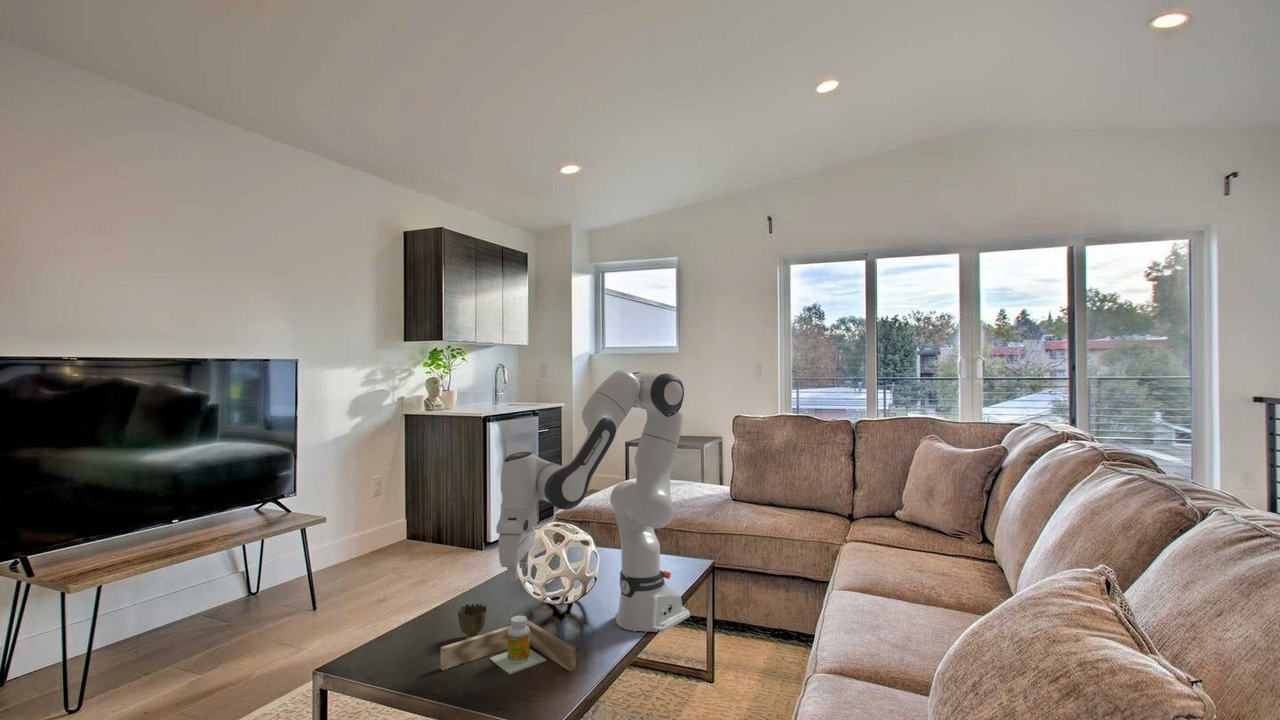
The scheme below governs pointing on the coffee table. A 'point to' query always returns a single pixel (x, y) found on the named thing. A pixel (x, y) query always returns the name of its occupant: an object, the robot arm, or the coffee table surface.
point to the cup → (472, 619)
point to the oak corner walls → (499, 641)
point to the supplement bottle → (518, 640)
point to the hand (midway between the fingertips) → (518, 574)
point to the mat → (515, 667)
